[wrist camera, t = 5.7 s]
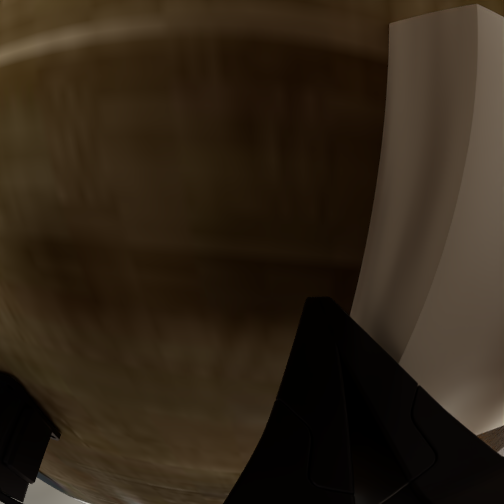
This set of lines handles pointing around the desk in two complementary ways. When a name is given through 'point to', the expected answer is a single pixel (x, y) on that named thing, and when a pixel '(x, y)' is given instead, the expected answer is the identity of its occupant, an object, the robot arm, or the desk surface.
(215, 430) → the desk surface
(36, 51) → the desk surface
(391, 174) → the beige rectangular block
